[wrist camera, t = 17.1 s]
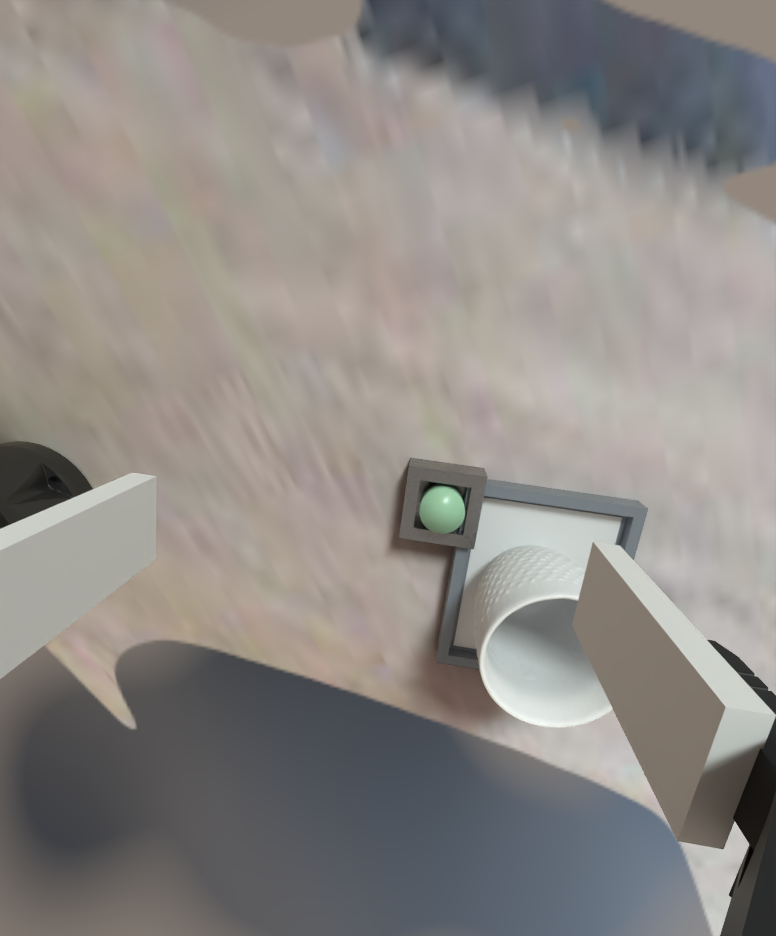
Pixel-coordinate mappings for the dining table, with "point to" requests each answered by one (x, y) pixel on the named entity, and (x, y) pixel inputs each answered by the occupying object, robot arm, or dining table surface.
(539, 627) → the mug
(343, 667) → the dining table surface
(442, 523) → the button
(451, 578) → the tray
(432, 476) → the grey square frame
